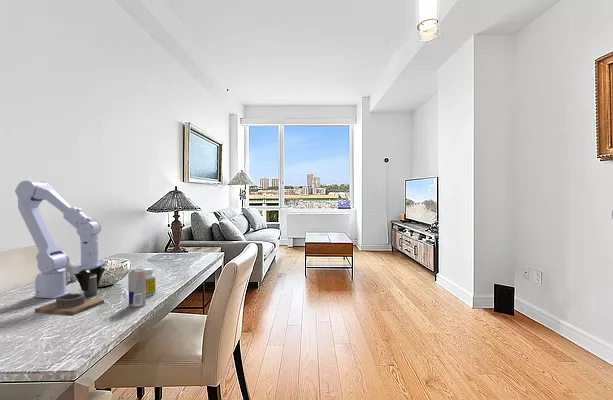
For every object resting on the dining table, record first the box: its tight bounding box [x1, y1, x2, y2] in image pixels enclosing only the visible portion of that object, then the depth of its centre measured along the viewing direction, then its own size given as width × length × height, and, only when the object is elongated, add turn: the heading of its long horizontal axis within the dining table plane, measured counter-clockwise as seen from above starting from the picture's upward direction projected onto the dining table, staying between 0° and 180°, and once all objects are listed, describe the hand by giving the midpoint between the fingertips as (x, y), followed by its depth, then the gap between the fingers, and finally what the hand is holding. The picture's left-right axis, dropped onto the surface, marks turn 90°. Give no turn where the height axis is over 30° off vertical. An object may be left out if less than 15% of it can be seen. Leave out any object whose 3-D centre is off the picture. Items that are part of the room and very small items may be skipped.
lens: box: [82, 273, 98, 298], centre depth 140 cm, size 4×4×8 cm
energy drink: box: [127, 268, 147, 309], centre depth 127 cm, size 5×5×12 cm
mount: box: [34, 293, 105, 316], centre depth 125 cm, size 15×13×4 cm
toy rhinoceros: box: [65, 261, 78, 285], centre depth 159 cm, size 7×12×8 cm, turn 12°
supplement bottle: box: [142, 267, 156, 297], centre depth 140 cm, size 5×5×10 cm
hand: (90, 288), depth 140 cm, fingers open, 5 cm apart
